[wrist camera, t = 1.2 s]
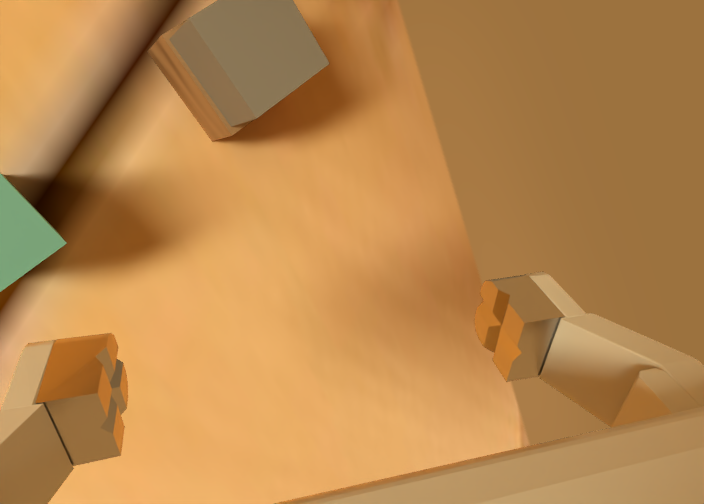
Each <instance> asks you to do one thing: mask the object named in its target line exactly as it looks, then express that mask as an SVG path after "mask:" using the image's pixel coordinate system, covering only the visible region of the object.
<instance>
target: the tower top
mask: <svg viewBox="0 0 704 504" xmlns="http://www.w3.org/2000/svg"><path fill="white" fill-rule="evenodd" d="M169 40H170V41H171V43H172V44H173V46H174V47H175V48H176V50H177V51H178V53H179V54H180V55H181V57H182V58H183V60H184V61H185V62H186V64H187V65H188V67H189V68H190V70H191V71H192V72H193V74H194V75H195V77H196V78H197V79H198V81H199V82H200V84H201V85H202V86H203V88H204V89H205V91H206V92H207V93H208V95H209V96H210V98H211V99H212V101H213V102H214V103H215V105H216V106H217V108H218V109H219V110H220V112H221V113H222V115H223V116H224V117H225V119H226V120H227V122H228V123H229V124H230V126H231V127H232V126H235V125H238V124H241V123H244V122H248V121H251V120H254V119H257V118H258V117H259V116H261V115H262V114H263V113H265V112H266V111H267V110H269V109H270V108H271V107H273V106H274V105H275V104H277V103H278V102H279V101H281V100H282V99H283V98H285V97H286V96H287V95H289V94H290V93H291V92H293V91H294V90H295V89H297V88H298V87H299V86H301V85H302V84H303V83H305V82H306V81H307V80H309V79H310V78H311V77H313V76H314V75H315V74H317V73H318V72H319V71H321V70H322V69H323V68H325V67H326V66H327V65H329V64H330V63H329V62H328V60H327V58H326V56H325V55H324V53H323V51H322V49H321V48H320V46H319V44H318V43H317V41H316V39H315V37H314V36H313V34H312V32H311V31H310V29H309V27H308V25H307V24H306V22H305V20H304V19H303V17H302V15H301V13H300V12H299V10H298V8H297V6H296V5H295V3H294V1H293V0H218V1H216V2H214V3H213V4H211V5H209V6H208V7H206V8H205V9H203V10H201V11H200V12H198V13H197V14H195V15H193V16H192V17H190V18H189V19H188V20H187V21H186V22H185V23H184V24H183V25H182V26H181V27H180V28H179V29H178V30H177V31H176V32H175V34H174V35H173V36H172V37H171V38H170V39H169Z"/></svg>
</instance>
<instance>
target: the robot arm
mask: <svg viewBox="0 0 704 504" xmlns="http://www.w3.org/2000/svg"><path fill="white" fill-rule="evenodd" d="M480 295H481V297H482V298H483V300H484V301H483V302H482V303H481V304H480V305H479V306H478V307H477V309H476V313H475V319H474V321H475V330H476V333H477V336H478V338H479V340H480V342H481V343H482V345H483V347H485V348H487V349H488V350H490V351H492V352H494V356H493V362H494V364H495V365H496V367H497V368H498V370H499V371H500V373H501V374H502V376H503V377H504V379H505V380H506V382H508V381H514V380H519V379H526V378H532V377H539V376H540V379H541V380H543V381H544V382H546V383H547V384H549V385H550V386H552V387H553V388H554V389H556V390H557V391H559V392H560V393H562V394H563V395H565V396H566V397H568V398H569V399H570V400H572V401H573V402H575V403H576V404H578V405H579V406H581V407H582V408H584V409H585V410H587V411H588V412H589V413H591V414H592V415H594V416H595V417H597V418H598V419H600V420H601V421H602V422H604V423H605V424H607V425H608V426H610V427H611V428H606V429H602V430H598V431H594V432H588V433H585V434H580V435H576V436H571V437H566V438H562V439H557V440H553V441H549V442H544V443H540V444H536V445H531V446H527V447H522V448H518V449H513V450H509V451H505V452H500V453H496V454H491V455H487V456H483V457H478V458H474V459H469V460H465V461H461V462H456V463H452V464H447V465H443V466H439V467H434V468H430V469H425V470H421V471H416V472H412V473H408V474H403V475H399V476H394V477H390V478H385V479H381V480H377V481H372V482H368V483H363V484H359V485H354V486H350V487H346V488H341V489H337V490H332V491H328V492H323V493H319V494H314V495H310V496H306V497H301V498H297V499H292V500H288V501H283V502H279V503H275V504H704V366H703V365H702V364H701V363H700V362H699V361H698V360H697V359H695V358H693V357H691V356H688V355H686V354H684V353H682V352H679V351H677V350H675V349H673V348H670V347H668V346H666V345H663V344H661V343H659V342H657V341H655V340H652V339H650V338H648V337H645V336H643V335H641V334H638V333H636V332H634V331H632V330H630V329H627V328H625V327H623V326H620V325H618V324H616V323H614V322H611V321H609V320H607V319H605V318H602V317H600V316H598V315H595V314H593V313H590V314H586V313H585V312H584V311H583V310H582V309H581V308H580V307H579V305H578V304H577V303H576V302H575V301H574V300H573V299H572V298H571V297H570V296H569V295H568V294H567V293H566V292H565V291H564V290H563V289H562V288H561V287H560V286H559V285H558V283H557V282H556V281H555V280H554V279H553V278H552V277H551V276H550V275H549V274H547V273H545V272H537V273H531V274H525V275H520V276H514V277H507V278H500V279H493V280H486V281H485V282H484V283H483V285H482V287H481V291H480ZM117 352H118V345H117V342H116V339H115V336H114V335H113V334H111V333H107V334H99V335H90V336H82V337H73V338H65V339H57V340H52V341H44V342H35V343H28V344H27V345H26V346H25V347H24V349H23V350H22V353H21V355H20V358H19V361H18V364H17V366H16V369H15V372H14V374H13V377H12V380H11V382H10V385H9V388H8V390H7V393H6V396H5V399H4V401H3V404H2V407H1V409H0V504H48V502H49V501H50V500H51V498H52V497H53V496H54V494H55V493H56V492H57V490H58V489H59V488H60V486H61V485H62V483H63V482H64V481H65V479H66V478H67V477H68V475H69V474H70V473H71V471H72V470H73V469H74V468H73V466H75V465H80V464H84V463H89V462H94V461H98V460H103V459H107V458H112V457H117V456H121V451H122V443H123V435H124V428H125V426H124V423H123V420H122V417H121V414H122V413H123V412H124V411H125V410H126V409H127V402H128V381H127V375H126V370H125V367H124V364H123V362H121V361H120V360H118V359H117Z"/></svg>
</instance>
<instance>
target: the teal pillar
mask: <svg viewBox="0 0 704 504" xmlns="http://www.w3.org/2000/svg"><path fill="white" fill-rule="evenodd" d="M65 244H67V243H66V241H65V240H64V239H63V238H62V237H61V235H60V234H59V233H58V232H57V231H56V230H55V229H54V228H53V227H52V226H51V225H50V223H49V222H48V221H47V220H46V219H45V218H44V217H43V216H42V215H41V214H40V213H39V212H38V211H37V210H36V209H35V208H34V207H33V206H32V205H31V204H30V203H29V201H28V200H27V199H26V198H25V197H24V196H23V195H22V194H21V193H20V192H19V191H18V190H17V189H16V188H15V187H14V186H13V185H12V184H11V183H10V182H9V181H8V180H7V178H6V177H5V176H4V175H3V174H1V173H0V292H1V291H2V290H3V289H5V288H6V287H7V286H9V285H10V284H12V283H13V282H14V281H16V280H17V279H18V278H20V277H21V276H23V275H24V274H25V273H27V272H28V271H30V270H31V269H32V268H34V267H35V266H36V265H38V264H39V263H41V262H42V261H43V260H45V259H46V258H47V257H49V256H50V255H52V254H53V253H54V252H56V251H57V250H58V249H60V248H61V247H63V246H64V245H65Z"/></svg>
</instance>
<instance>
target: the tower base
mask: <svg viewBox="0 0 704 504" xmlns="http://www.w3.org/2000/svg"><path fill="white" fill-rule="evenodd" d="M186 21H187V20H186ZM186 21H184V22H183V23H181V24H179V25H178V26H176V27H174V28H173V29H171V30H169V31H168V32H166V33H164V34H163V35H161V36H160V38H159V39H158V40H157V41H156V42H155V43H154V44H153V46H152V47H151V48H150V49H149V50H148V51H147V52H148V53H149V55H150V56H151V57H152V59H153V60H154V62H155V63H156V64H157V66H158V67H159V69H160V70H161V71H162V73H163V74H164V75H165V77H166V78H167V80H168V81H169V82H170V84H171V85H172V86H173V88H174V89H175V91H176V92H177V93H178V95H179V96H180V98H181V99H182V100H183V102H184V103H185V104H186V106H187V107H188V109H189V110H190V111H191V113H192V114H193V116H194V117H195V118H196V120H197V121H198V122H199V124H200V125H201V127H202V128H203V129H204V131H205V132H206V133H207V135H208V136H209V138H210V139H211V140H212V141H215V140H218V139H222V138H226V137H229V136H232V135H234V134H235V133H236V132H238V131H239V130H240V129H242V128H243V127H245V126H246V125H247V124H249V123H250V122H251V121H253V120H251V121H248V122H244V123H241V124H238V125H235V126H232V127H231V126H230V124H229V123H228V122H227V120H226V119H225V117H224V116H223V115H222V113H221V112H220V110H219V109H218V108H217V106H216V105H215V103H214V102H213V101H212V99H211V98H210V96H209V95H208V93H207V92H206V91H205V89H204V88H203V86H202V85H201V84H200V82H199V81H198V79H197V78H196V77H195V75H194V74H193V72H192V71H191V70H190V68H189V67H188V65H187V64H186V62H185V61H184V60H183V58H182V57H181V55H180V54H179V53H178V51H177V50H176V48H175V47H174V46H173V44H172V43H171V41H170V40H169V39H170V38H171V37H172V36H173V35H174V34H175V32H176V31H177V30H178V29H179V28H180V27H181V26H182V25H183V24H184V23H185V22H186Z"/></svg>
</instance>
